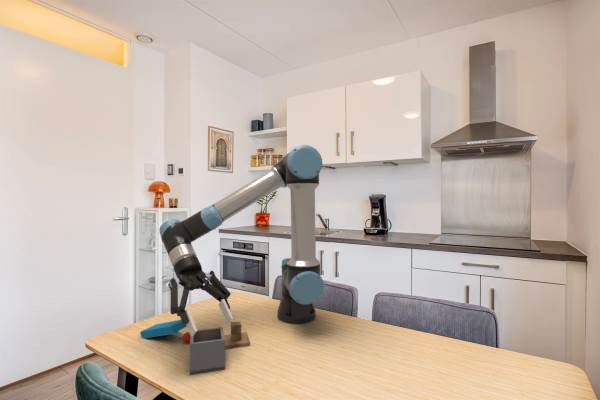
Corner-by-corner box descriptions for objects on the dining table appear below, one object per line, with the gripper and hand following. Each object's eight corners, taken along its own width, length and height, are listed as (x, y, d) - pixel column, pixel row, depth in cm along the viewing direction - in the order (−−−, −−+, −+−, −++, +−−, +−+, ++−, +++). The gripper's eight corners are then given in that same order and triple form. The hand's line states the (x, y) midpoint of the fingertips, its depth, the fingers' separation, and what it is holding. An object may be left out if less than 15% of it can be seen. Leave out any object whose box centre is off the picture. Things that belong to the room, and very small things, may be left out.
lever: (144, 352, 103) (185, 347, 96) (139, 331, 103) (180, 324, 97) (160, 343, 109) (200, 338, 103) (156, 324, 110) (195, 317, 103)
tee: (246, 335, 105) (246, 317, 105) (250, 345, 97) (250, 326, 97) (222, 338, 103) (222, 320, 103) (224, 349, 95) (224, 329, 95)
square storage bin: (222, 353, 93) (222, 326, 93) (224, 369, 84) (224, 339, 84) (191, 358, 90) (191, 330, 90) (189, 374, 81) (189, 344, 81)
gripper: (213, 264, 106) (241, 321, 95) (143, 276, 89) (167, 348, 78) (222, 250, 102) (252, 308, 92) (150, 260, 85) (176, 333, 75)
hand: (213, 327), depth 85 cm, fingers open, 10 cm apart
